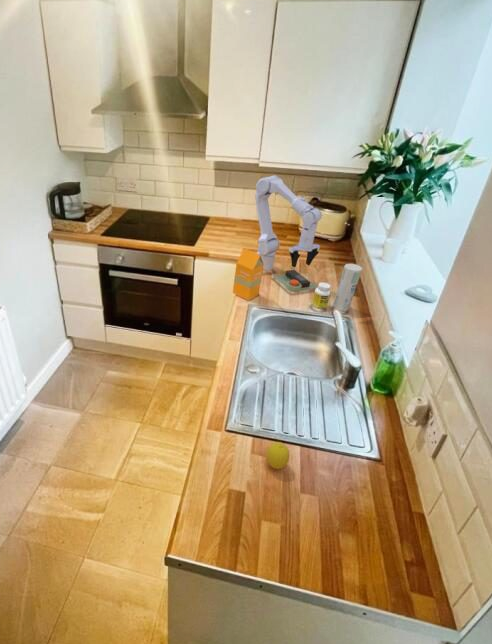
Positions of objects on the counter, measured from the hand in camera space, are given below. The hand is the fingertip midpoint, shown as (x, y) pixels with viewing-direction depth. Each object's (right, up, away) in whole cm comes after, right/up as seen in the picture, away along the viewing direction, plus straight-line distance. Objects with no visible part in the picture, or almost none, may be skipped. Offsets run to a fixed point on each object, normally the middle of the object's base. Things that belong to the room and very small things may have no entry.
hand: (300, 265), depth 181 cm
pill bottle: (+3, -20, -13) cm, 24 cm away
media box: (-2, -8, +4) cm, 10 cm away
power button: (-4, -9, -3) cm, 10 cm away
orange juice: (-26, -13, -5) cm, 29 cm away
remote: (0, -7, +4) cm, 8 cm away
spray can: (+12, -21, -13) cm, 28 cm away
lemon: (-31, -62, -79) cm, 106 cm away
